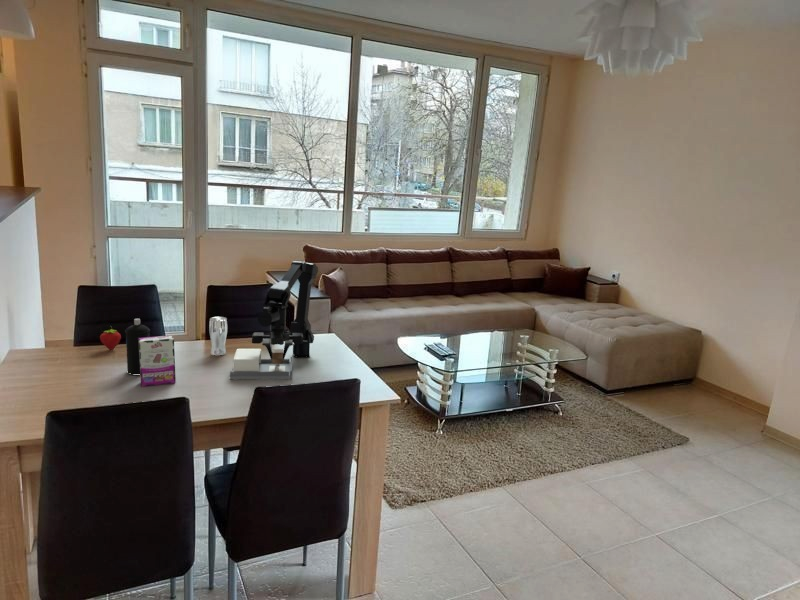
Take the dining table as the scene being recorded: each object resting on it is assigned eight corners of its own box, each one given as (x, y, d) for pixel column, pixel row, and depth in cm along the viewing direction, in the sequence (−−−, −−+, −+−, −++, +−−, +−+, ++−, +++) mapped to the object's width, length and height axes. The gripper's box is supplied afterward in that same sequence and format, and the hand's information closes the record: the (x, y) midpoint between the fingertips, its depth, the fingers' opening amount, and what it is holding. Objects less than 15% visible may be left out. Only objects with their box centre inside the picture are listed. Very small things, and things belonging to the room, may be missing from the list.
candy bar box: (174, 378, 192) (173, 334, 188) (175, 383, 188) (174, 338, 184) (140, 382, 187) (138, 337, 183) (140, 387, 182) (138, 341, 179)
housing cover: (260, 362, 210) (261, 348, 208) (258, 373, 197) (258, 359, 196) (237, 362, 208) (237, 348, 206) (233, 374, 196) (233, 359, 194)
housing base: (291, 364, 214) (292, 357, 213) (291, 379, 198) (291, 371, 198) (234, 364, 209) (234, 356, 209) (230, 379, 194) (230, 371, 193)
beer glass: (221, 357, 217) (221, 321, 214) (206, 355, 218) (205, 319, 215) (230, 352, 224) (230, 317, 220) (215, 350, 225) (215, 315, 222)
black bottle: (156, 370, 198) (154, 318, 194) (137, 377, 191) (135, 323, 186) (140, 366, 201) (138, 315, 197) (121, 372, 194) (119, 319, 189)
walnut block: (282, 360, 207) (283, 349, 206) (282, 363, 203) (282, 352, 202) (272, 360, 206) (272, 349, 205) (271, 363, 202) (272, 352, 201)
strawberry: (100, 348, 217) (99, 325, 215) (121, 347, 221) (120, 323, 219) (100, 353, 212) (99, 328, 210) (121, 351, 216) (120, 327, 214)
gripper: (250, 325, 191) (250, 366, 195) (303, 326, 195) (302, 366, 198) (253, 317, 202) (252, 356, 205) (303, 318, 205) (302, 356, 209)
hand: (277, 359), depth 204 cm, fingers closed on walnut block, 4 cm apart
